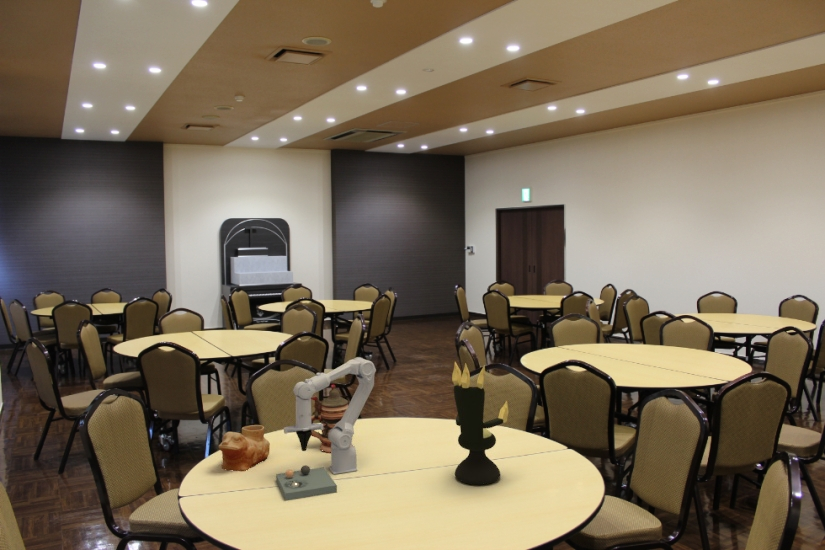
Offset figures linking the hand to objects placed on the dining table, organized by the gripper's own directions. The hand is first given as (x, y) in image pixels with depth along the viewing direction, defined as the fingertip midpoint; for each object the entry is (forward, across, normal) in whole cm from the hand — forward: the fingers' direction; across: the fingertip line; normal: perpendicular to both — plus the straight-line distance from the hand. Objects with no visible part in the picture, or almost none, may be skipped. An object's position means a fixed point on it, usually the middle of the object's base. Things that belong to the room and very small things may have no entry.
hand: (303, 450), depth 245 cm
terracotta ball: (+7, -6, -5) cm, 10 cm away
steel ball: (+9, -6, -12) cm, 16 cm away
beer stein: (+10, +19, +30) cm, 37 cm away
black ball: (+6, 0, -4) cm, 7 cm away
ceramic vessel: (+11, -19, +26) cm, 34 cm away
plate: (+10, -1, -9) cm, 14 cm away
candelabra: (+9, +58, -29) cm, 65 cm away
